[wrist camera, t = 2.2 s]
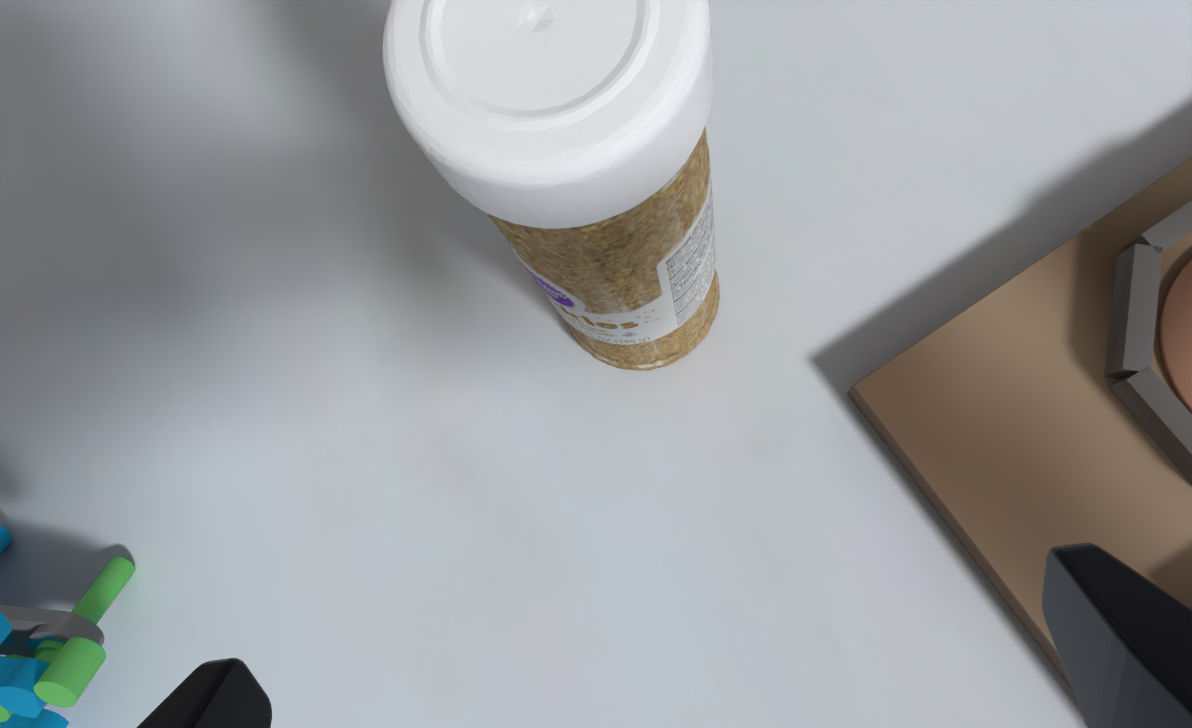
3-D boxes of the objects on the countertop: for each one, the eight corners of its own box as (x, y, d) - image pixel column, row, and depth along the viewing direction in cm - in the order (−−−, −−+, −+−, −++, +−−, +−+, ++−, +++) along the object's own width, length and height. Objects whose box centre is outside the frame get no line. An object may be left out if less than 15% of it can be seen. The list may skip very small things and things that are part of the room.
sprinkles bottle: (538, 333, 24) (310, 101, 11) (609, 199, 25) (470, -176, 12) (679, 401, 23) (609, 233, 10) (750, 259, 23) (772, -78, 10)
